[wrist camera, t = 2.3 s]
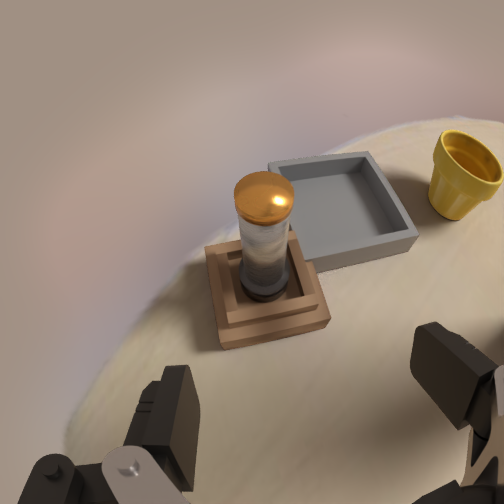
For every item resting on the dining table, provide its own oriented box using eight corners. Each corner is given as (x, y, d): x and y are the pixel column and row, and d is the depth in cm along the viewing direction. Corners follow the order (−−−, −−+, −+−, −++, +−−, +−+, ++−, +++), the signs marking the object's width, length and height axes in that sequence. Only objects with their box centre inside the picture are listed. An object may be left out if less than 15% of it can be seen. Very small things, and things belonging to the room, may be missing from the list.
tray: (362, 169, 40) (368, 151, 37) (408, 251, 32) (419, 234, 29) (267, 182, 39) (267, 162, 36) (299, 277, 31) (302, 260, 28)
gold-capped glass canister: (281, 256, 29) (289, 162, 19) (293, 297, 27) (311, 213, 17) (236, 265, 29) (222, 173, 19) (245, 307, 27) (233, 227, 16)
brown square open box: (297, 244, 33) (301, 219, 30) (324, 327, 28) (334, 312, 24) (208, 261, 33) (201, 238, 29) (224, 350, 28) (217, 338, 24)
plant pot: (402, 185, 38) (425, 132, 30) (443, 171, 40) (465, 125, 31) (446, 241, 33) (483, 192, 25) (483, 219, 35) (514, 176, 26)
